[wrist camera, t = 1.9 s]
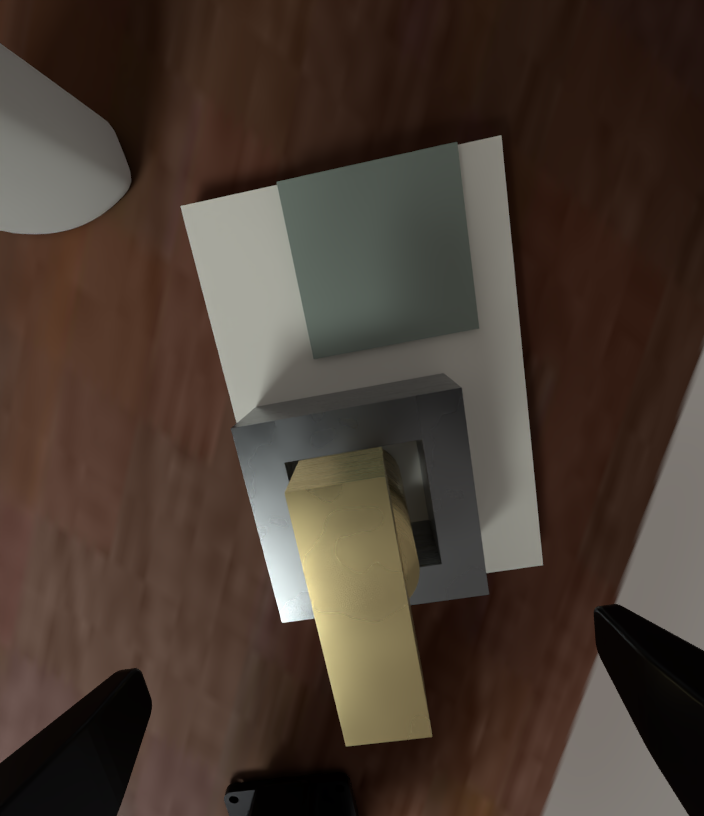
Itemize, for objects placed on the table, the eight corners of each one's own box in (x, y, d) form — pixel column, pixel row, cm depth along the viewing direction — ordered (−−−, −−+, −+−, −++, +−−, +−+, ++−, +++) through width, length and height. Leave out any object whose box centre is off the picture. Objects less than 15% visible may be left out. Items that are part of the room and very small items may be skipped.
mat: (477, 328, 15) (479, 328, 15) (314, 358, 15) (313, 359, 15) (455, 145, 14) (457, 141, 13) (278, 184, 14) (276, 181, 14)
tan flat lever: (412, 544, 17) (450, 735, 9) (345, 554, 17) (329, 748, 10) (386, 393, 15) (405, 473, 8) (314, 406, 16) (264, 496, 8)
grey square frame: (467, 545, 17) (489, 594, 14) (296, 570, 17) (282, 622, 14) (443, 373, 15) (461, 387, 12) (256, 406, 16) (231, 428, 13)
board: (533, 551, 18) (542, 565, 17) (287, 586, 19) (283, 601, 18) (492, 146, 14) (501, 135, 13) (192, 212, 15) (180, 205, 14)
